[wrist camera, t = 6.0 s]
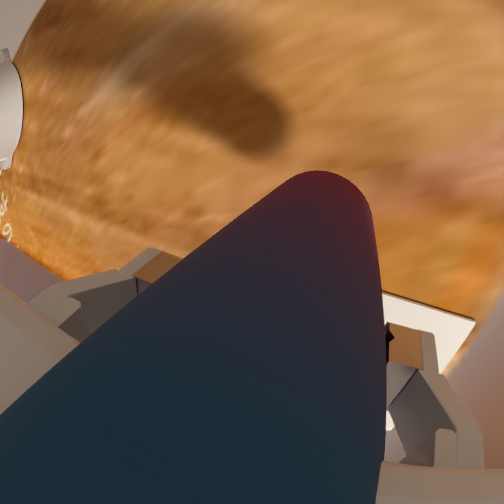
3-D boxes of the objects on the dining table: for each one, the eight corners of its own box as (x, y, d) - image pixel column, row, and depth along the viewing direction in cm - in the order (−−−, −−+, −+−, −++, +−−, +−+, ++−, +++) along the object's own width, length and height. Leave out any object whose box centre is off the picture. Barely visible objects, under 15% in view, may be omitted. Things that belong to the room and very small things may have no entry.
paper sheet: (233, 380, 35) (232, 382, 34) (251, 251, 25) (249, 253, 25) (390, 428, 29) (389, 431, 29) (475, 320, 20) (476, 323, 20)
